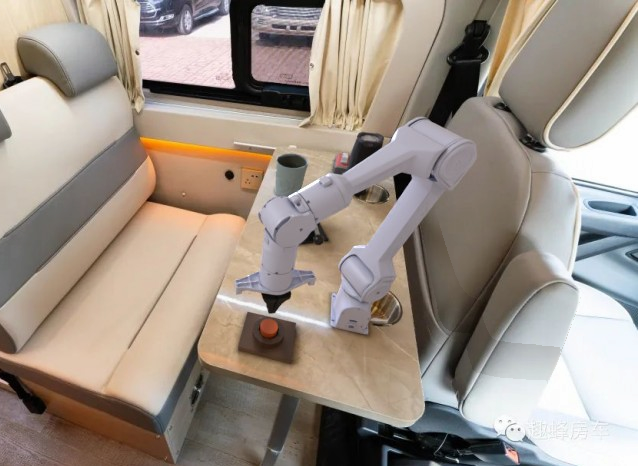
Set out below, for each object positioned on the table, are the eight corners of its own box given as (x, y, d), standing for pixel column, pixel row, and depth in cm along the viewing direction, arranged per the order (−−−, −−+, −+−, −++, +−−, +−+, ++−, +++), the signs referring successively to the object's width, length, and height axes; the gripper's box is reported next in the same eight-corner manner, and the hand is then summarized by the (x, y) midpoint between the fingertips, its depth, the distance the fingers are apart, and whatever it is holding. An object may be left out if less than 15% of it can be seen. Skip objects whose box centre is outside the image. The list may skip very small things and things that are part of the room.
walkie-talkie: (355, 179, 118) (358, 154, 132) (359, 169, 115) (361, 144, 129) (330, 175, 120) (336, 150, 134) (333, 165, 117) (338, 140, 131)
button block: (295, 326, 73) (297, 317, 71) (290, 364, 67) (292, 355, 64) (247, 315, 76) (247, 306, 73) (237, 350, 69) (238, 342, 67)
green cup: (270, 197, 110) (273, 165, 102) (275, 181, 117) (279, 151, 109) (300, 202, 108) (306, 170, 100) (304, 186, 115) (310, 155, 107)
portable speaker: (366, 184, 115) (385, 131, 102) (367, 199, 109) (386, 145, 96) (341, 180, 117) (356, 128, 104) (340, 195, 111) (356, 141, 98)
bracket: (328, 241, 94) (335, 214, 87) (297, 245, 93) (303, 218, 86) (314, 217, 102) (320, 191, 95) (286, 221, 101) (290, 194, 94)
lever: (323, 246, 90) (327, 242, 87) (312, 247, 90) (316, 244, 87) (313, 206, 94) (316, 202, 91) (303, 207, 94) (306, 203, 91)
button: (278, 325, 70) (279, 320, 69) (275, 340, 67) (276, 335, 66) (261, 321, 71) (262, 316, 70) (258, 336, 68) (259, 331, 67)
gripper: (311, 241, 59) (299, 288, 68) (231, 250, 58) (231, 297, 67) (325, 270, 54) (311, 317, 63) (238, 280, 52) (237, 327, 62)
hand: (270, 309), depth 65 cm, fingers closed
